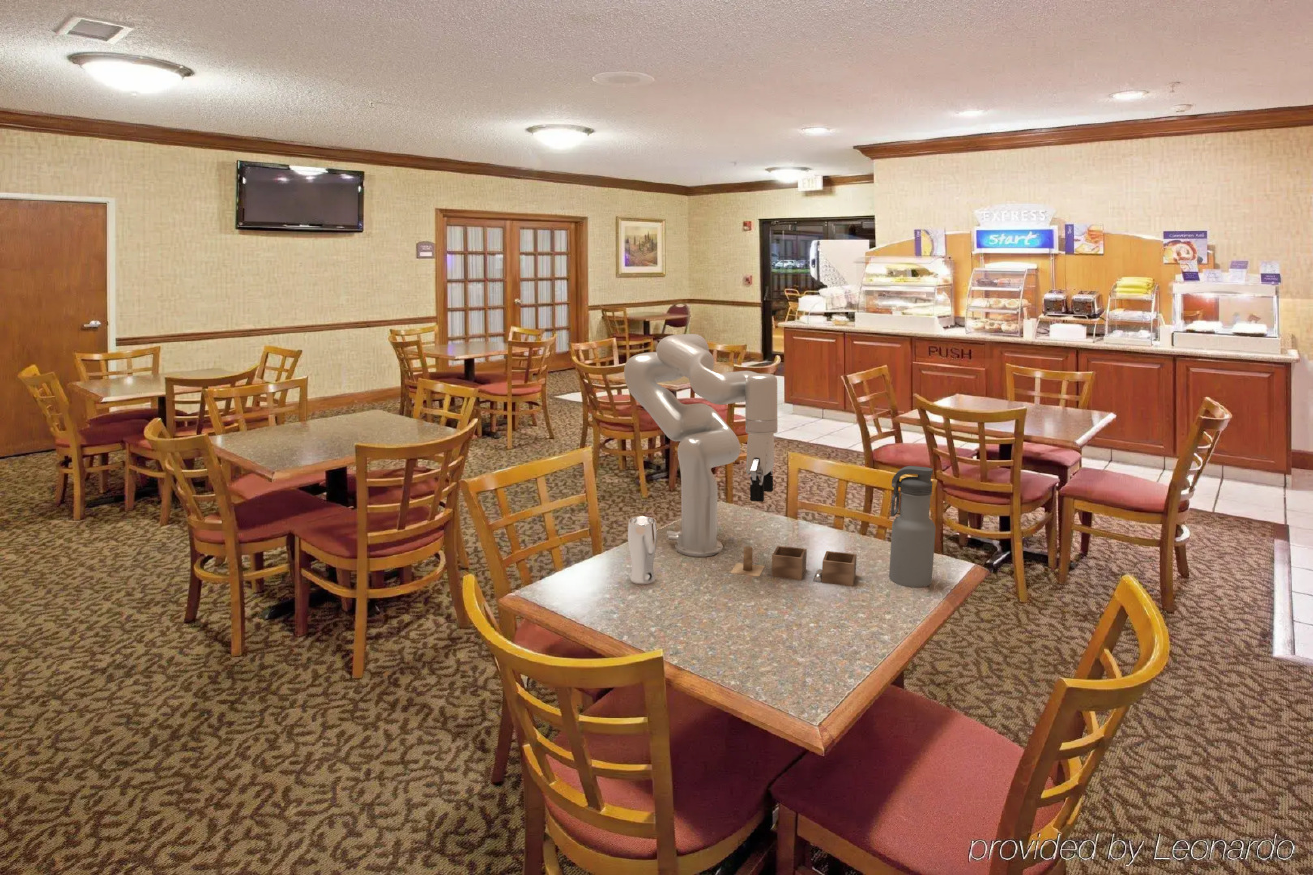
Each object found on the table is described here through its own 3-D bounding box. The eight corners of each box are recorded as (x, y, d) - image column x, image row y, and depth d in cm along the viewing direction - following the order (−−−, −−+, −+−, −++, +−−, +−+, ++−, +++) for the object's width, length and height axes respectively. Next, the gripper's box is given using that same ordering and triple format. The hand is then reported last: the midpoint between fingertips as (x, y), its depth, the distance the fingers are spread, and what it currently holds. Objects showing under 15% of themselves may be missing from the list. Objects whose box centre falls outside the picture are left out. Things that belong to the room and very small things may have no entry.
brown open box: (771, 578, 193) (772, 555, 192) (777, 568, 200) (777, 545, 199) (801, 582, 191) (802, 558, 190) (805, 571, 197) (806, 548, 196)
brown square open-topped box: (821, 584, 189) (822, 560, 188) (825, 574, 196) (826, 550, 195) (852, 588, 187) (853, 564, 186) (855, 577, 194) (856, 554, 192)
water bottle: (883, 584, 189) (889, 470, 183) (891, 571, 198) (898, 461, 192) (927, 592, 184) (935, 475, 179) (934, 578, 193) (942, 466, 187)
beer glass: (623, 582, 191) (622, 522, 188) (637, 572, 197) (636, 514, 194) (648, 587, 188) (648, 526, 185) (662, 577, 194) (661, 518, 191)
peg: (811, 581, 190) (819, 586, 190) (815, 575, 189) (823, 579, 189) (814, 574, 195) (821, 578, 194) (818, 567, 194) (826, 572, 194)
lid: (730, 576, 195) (730, 551, 194) (736, 566, 202) (737, 541, 201) (759, 580, 193) (759, 554, 192) (764, 569, 200) (765, 544, 199)
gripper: (754, 420, 199) (755, 487, 202) (736, 431, 183) (737, 504, 186) (784, 420, 196) (784, 488, 199) (768, 432, 180) (769, 506, 183)
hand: (761, 496), depth 192 cm, fingers open, 9 cm apart
